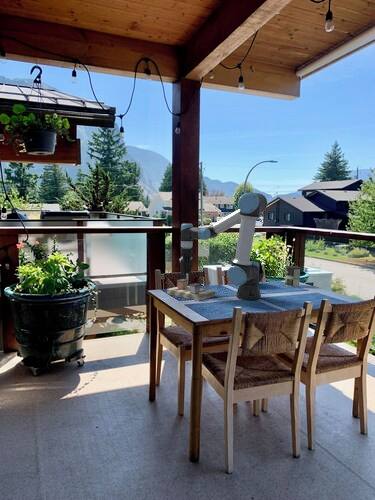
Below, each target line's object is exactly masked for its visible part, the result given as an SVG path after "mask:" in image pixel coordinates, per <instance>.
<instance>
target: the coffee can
mask: <svg viewBox="0 0 375 500" xmlns="http://www.w3.org/2000/svg"><path fill="white" fill-rule="evenodd" d="M300 277H301V267H300V266H297V265H286V266H285V279H284V286H285V285H286V286H285V287H288V286H290V288H299V287H300V279H301V278H300Z"/></svg>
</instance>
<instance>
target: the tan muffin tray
mask: <svg viewBox="0 0 375 500" xmlns="http://www.w3.org/2000/svg"><path fill="white" fill-rule="evenodd" d="M166 294H167V295H169V296H170V295H171V296H174V297H180V298H185V299H189V300H193V301H198V302H200V301H203V300H206V299H207V300H208V299H210V298H213V297H216V291H215V290H212V289H211V290H210V289H205V288H201V287H200V293H197V294H193V293H190V286H189V285H187V288H185V289H179V288H177V286H175V287H170V288H167V289H166Z"/></svg>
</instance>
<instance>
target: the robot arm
mask: <svg viewBox="0 0 375 500" xmlns="http://www.w3.org/2000/svg"><path fill="white" fill-rule="evenodd" d="M267 206H268V199H267V198H266V196H265V195H264V194H262V193H256V192H253V191H252V192H245V193H243V194H241V196H240V197H239V198H238V202H237V208H238V209H237V210H235V211H233V212H231V213H230V214H228V215H226V216H224V217H223V218H221V219H219V220H217V222H215V223H213V224H211V225H210V226H205V227H204V226H203V227H195V226H194V224H192V223H181V225H180V226H181V227H180V247H181V248H180V254H181V256H180V258H179V259H178V262H179V268H180V273H181V274H183V275H182V277H183V278H182V279H185V280H188V281H187V285H188V284H189V276H190V274H191V272H192V267H193V264H194V263H193V261H194V258H195V257H193V256H192V255H193V240H201V241H207V240H209V239H214V238H217V237H218V236H219V235H220V234H222V233H224V232H225V231H227V230H228V229H231V228H232V227H234V226H236V225H238V224H239V223H240V225H239V231H238V238H237V242H236V244H237V245H236V251H235V257H234V259H231V266H230V267H229V268H228V269H227V272H226V275H227V279H228V281H229V282H230V284H232V285H235V286H238V287H237V288H238V289H237V292H236V298H238V299H240V300H243V301H244V300H246V301H256V300H261V298H262V294H261V293H262V292H261V290H260V286H259V283H260V282H259V268H260V267H259V263H260V262H259V261H258V262H259V263H258V262H257V261H256V262H253V261H254V260H253V261H250V259H251V254H252V247H253V242H254V237H255V230H256V223H257V220H258V219H260V216H261V213H263V212H264V211H266V209H267Z"/></svg>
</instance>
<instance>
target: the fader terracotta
mask: <svg viewBox="0 0 375 500" xmlns="http://www.w3.org/2000/svg"><path fill="white" fill-rule="evenodd" d="M176 281H177V286H176V287H177V288H179V289H185V288H187V286H188V284H187V281H188V282H189V279H188V280H185V279H183V278H181V279H177V280H176Z"/></svg>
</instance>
